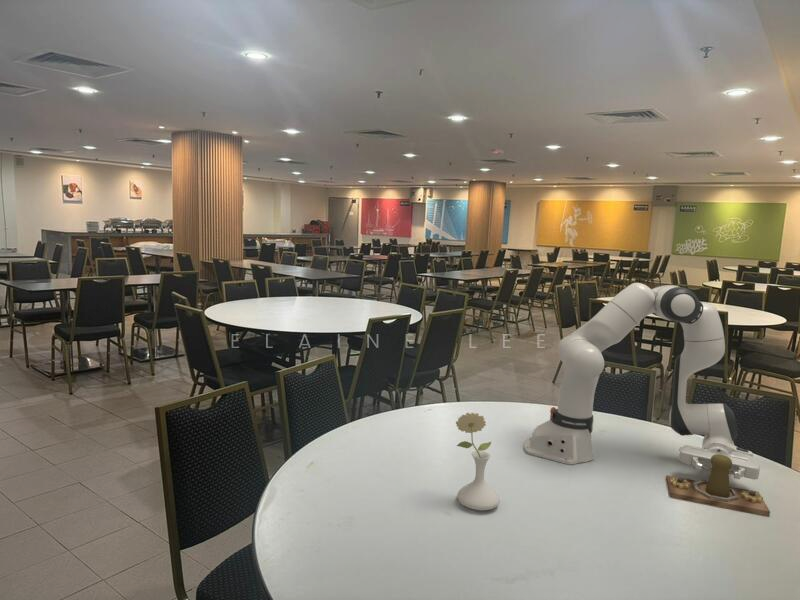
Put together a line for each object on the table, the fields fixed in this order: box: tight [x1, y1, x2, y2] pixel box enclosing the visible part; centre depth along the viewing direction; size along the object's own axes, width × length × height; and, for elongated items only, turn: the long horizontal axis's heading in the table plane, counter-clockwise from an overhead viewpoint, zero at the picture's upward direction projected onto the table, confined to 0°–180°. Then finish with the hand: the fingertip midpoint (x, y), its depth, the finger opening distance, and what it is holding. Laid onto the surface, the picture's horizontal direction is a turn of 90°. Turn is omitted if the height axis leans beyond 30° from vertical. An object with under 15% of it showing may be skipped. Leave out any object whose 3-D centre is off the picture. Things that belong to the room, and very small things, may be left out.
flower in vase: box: [455, 412, 501, 511], centre depth 143 cm, size 13×11×25 cm
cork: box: [705, 454, 732, 498], centre depth 152 cm, size 6×6×11 cm
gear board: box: [665, 474, 771, 518], centre depth 153 cm, size 24×12×4 cm, turn 69°
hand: (717, 471), depth 152 cm, fingers open, 8 cm apart
